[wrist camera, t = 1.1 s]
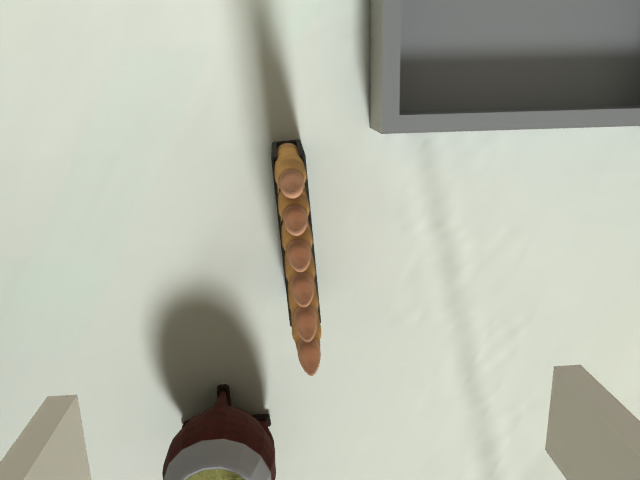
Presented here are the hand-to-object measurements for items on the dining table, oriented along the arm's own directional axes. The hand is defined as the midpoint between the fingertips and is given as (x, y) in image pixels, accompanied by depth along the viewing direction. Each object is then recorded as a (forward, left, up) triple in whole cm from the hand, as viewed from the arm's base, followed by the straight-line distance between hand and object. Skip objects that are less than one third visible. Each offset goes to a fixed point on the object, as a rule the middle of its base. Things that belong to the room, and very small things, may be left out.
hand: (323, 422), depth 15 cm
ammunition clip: (0, 0, -22) cm, 23 cm away
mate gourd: (-5, -15, -22) cm, 27 cm away
